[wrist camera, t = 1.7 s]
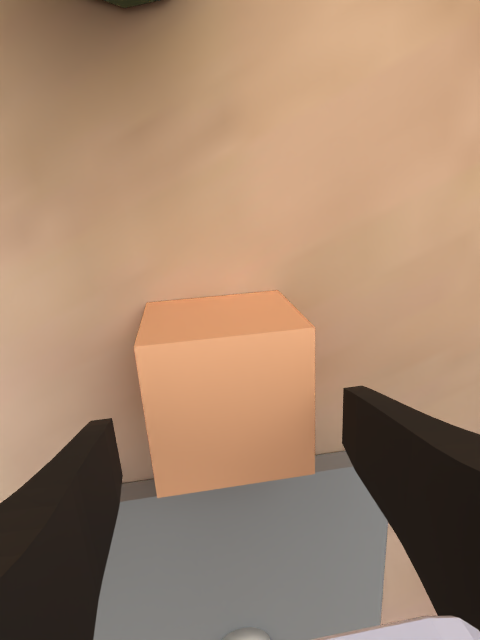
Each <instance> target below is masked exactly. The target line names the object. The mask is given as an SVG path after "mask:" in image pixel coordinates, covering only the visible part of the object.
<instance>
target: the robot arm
mask: <svg viewBox="0 0 480 640" xmlns="http://www.w3.org/2000/svg"><path fill="white" fill-rule="evenodd" d="M342 444H343V446H344V448H345V450H346V452H347V455H348V457H349V459H350V461H351V463H352V465H353V467H354V469H355V471H356V473H357V474H358V476H359V478H360V479H361V481H362V482H363V484H364V485H365V487H366V488H367V490H368V492H369V493H370V495H371V496H372V498H373V499H374V501H375V502H376V504H377V505H378V507H379V508H380V510H381V512H382V513H383V515H384V516H385V518H386V519H387V521H388V522H389V524H390V525H391V527H392V528H393V530H394V532H395V533H396V535H397V537H398V538H399V540H400V542H401V543H402V545H403V547H404V549H405V551H406V553H407V555H408V556H409V558H410V560H411V562H412V564H413V566H414V568H415V570H416V572H417V574H418V576H419V578H420V580H421V582H422V584H423V586H424V588H425V590H426V592H427V594H428V596H429V598H430V600H431V602H432V604H433V606H434V608H435V610H436V612H437V614H438V616H422V617H417V618H413V619H408V620H403V621H398V622H393V623H389V624H384V625H379V626H374V627H370V628H365V629H360V630H355V631H350V632H346V633H341V634H336V635H331V636H326V637H322V638H317V639H312V640H480V435H479V434H476V433H473V432H470V431H467V430H464V429H461V428H459V427H456V426H453V425H451V424H448V423H446V422H443V421H441V420H438V419H436V418H433V417H431V416H429V415H426V414H424V413H422V412H419V411H417V410H415V409H413V408H411V407H408V406H406V405H404V404H402V403H400V402H398V401H396V400H393V399H391V398H389V397H387V396H385V395H383V394H381V393H378V392H376V391H374V390H372V389H369V388H367V387H364V386H357V387H349V388H344V394H343V432H342ZM122 476H123V475H122V470H121V464H120V459H119V454H118V448H117V443H116V437H115V432H114V427H113V421H112V418H110V419H102V420H95V421H90V422H89V423H88V424H87V425H86V426H85V427H84V428H83V429H82V430H81V431H80V432H79V433H78V434H77V435H76V436H75V437H74V438H73V439H72V440H71V441H70V442H69V443H68V444H67V445H66V446H65V447H64V448H63V449H62V450H61V451H60V452H59V453H58V454H57V455H56V456H55V457H54V458H53V459H52V460H51V461H50V462H49V463H48V464H47V465H45V466H44V467H43V468H42V469H41V470H40V471H39V472H38V473H37V474H35V475H34V476H33V477H32V478H31V479H30V480H29V481H28V482H26V483H25V484H24V485H23V486H22V487H21V488H19V489H18V490H17V491H16V492H15V493H13V494H12V495H11V496H10V497H8V498H7V499H6V500H4V501H3V502H2V503H0V640H93V638H94V631H95V623H96V616H97V608H98V601H99V596H100V591H101V585H102V581H103V576H104V572H105V568H106V563H107V559H108V555H109V551H110V546H111V542H112V538H113V534H114V529H115V525H116V520H117V516H118V511H119V506H120V497H121V487H122Z"/></svg>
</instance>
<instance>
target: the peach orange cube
mask: <svg viewBox="0 0 480 640" xmlns="http://www.w3.org/2000/svg"><path fill="white" fill-rule="evenodd" d="M134 352H135V358H136V365H137V371H138V378H139V384H140V390H141V397H142V403H143V410H144V416H145V423H146V429H147V436H148V442H149V448H150V455H151V461H152V468H153V474H154V481H155V487H156V493H157V498H162V497H168V496H175V495H181V494H188V493H194V492H201V491H207V490H214V489H221V488H227V487H234V486H240V485H247V484H253V483H260V482H267V481H273V480H280V479H286V478H293V477H299V476H306V475H312V474H315V327H314V326H313V325H312V324H311V323H310V322H309V321H308V320H307V319H306V318H305V317H304V316H303V315H302V314H301V313H300V312H299V311H298V310H297V309H296V308H295V307H294V306H293V305H292V304H291V303H290V302H289V301H288V300H287V299H286V298H285V297H284V296H283V295H282V294H281V293H280V292H279V291H278V290H276V291H265V292H254V293H244V294H233V295H223V296H212V297H202V298H191V299H180V300H170V301H159V302H149V303H146V307H145V310H144V314H143V317H142V320H141V324H140V327H139V331H138V334H137V337H136V341H135V344H134Z"/></svg>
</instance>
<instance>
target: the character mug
mask: <svg viewBox="0 0 480 640" xmlns="http://www.w3.org/2000/svg"><path fill="white" fill-rule="evenodd" d="M104 1H107V2H109V3H112V4H115V5H117V6H120V7H123V8H127V7H131V6H136V5H141V4H145V3H150V2H155V1H159V0H104Z"/></svg>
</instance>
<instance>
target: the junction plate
mask: <svg viewBox="0 0 480 640" xmlns="http://www.w3.org/2000/svg"><path fill="white" fill-rule="evenodd" d="M387 528H388V521H387V519H386V518H385V516H384V515H383V513H382V512H381V510H380V508H379V507H378V505H377V504H376V502H375V501H374V499H373V498H372V496H371V495H370V493H369V492H368V490H367V488H366V487H365V485H364V484H363V482H362V481H361V479H360V478H359V476H358V474H357V473H356V471H355V469H354V467H353V465H352V463H351V461H350V459H349V457H348V455H347V452H346V451H341V452H335V453H328V454H321V455H315V474H312V475H306V476H299V477H293V478H286V479H280V480H273V481H267V482H260V483H253V484H247V485H240V486H234V487H227V488H221V489H214V490H207V491H201V492H194V493H188V494H181V495H175V496H168V497H162V498H157V493H156V487H155V481H154V479H151V480H144V481H137V482H130V483H123V484H122V487H121V497H120V506H119V511H118V516H117V520H116V525H115V529H114V534H113V538H112V542H111V546H110V551H109V555H108V559H107V563H106V568H105V572H104V576H103V581H102V585H101V591H100V596H99V601H98V608H97V616H96V623H95V631H94V638H93V640H312V639H317V638H322V637H326V636H331V635H336V634H341V633H346V632H350V631H355V630H360V629H365V628H370V627H374V626H379V625H380V623H381V609H382V596H383V582H384V569H385V555H386V542H387Z"/></svg>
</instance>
